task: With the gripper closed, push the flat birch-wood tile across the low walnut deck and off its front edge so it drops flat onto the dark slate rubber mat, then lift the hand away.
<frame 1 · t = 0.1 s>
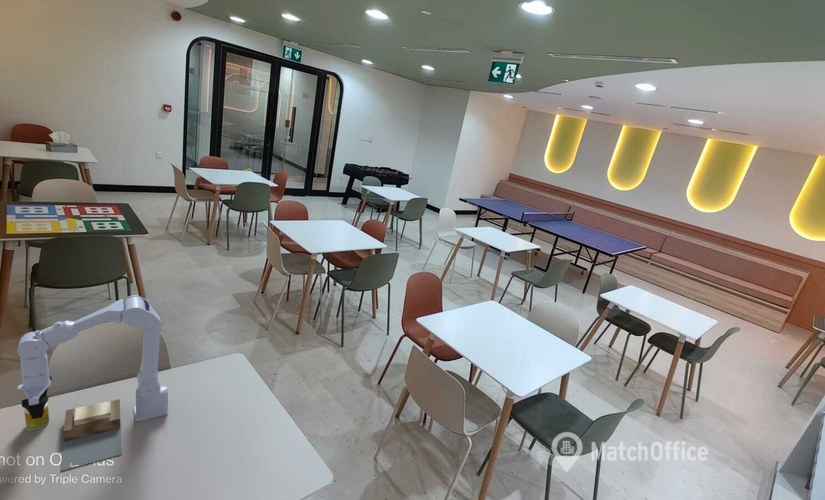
hand: (39, 409, 119), 10 cm above the table, tool pointing down, fingers open, 7 cm apart
slate mat: (92, 448, 121), on the table
walnut deck: (93, 424, 129), on the table
supplement bottle: (38, 424, 125), on the table
birch tile: (93, 415, 128), point 4 cm above the table, touching walnut deck
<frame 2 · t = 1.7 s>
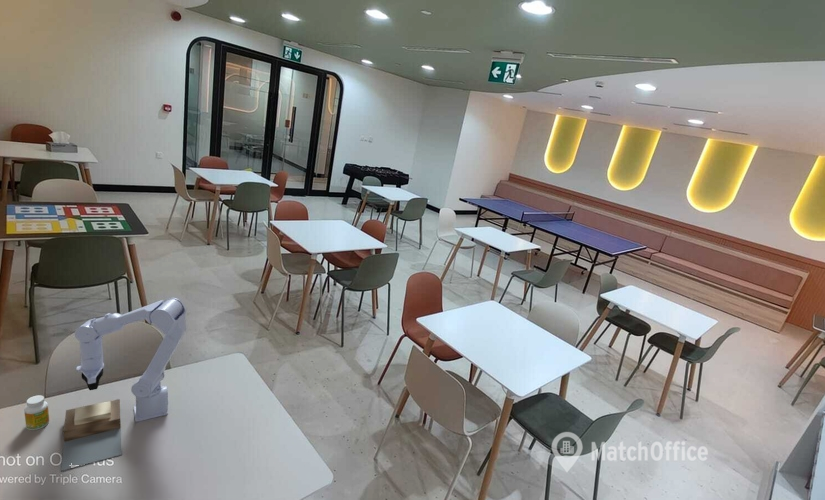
hand: (93, 388, 133), 8 cm above the table, tool pointing down, fingers closed
nothing on the table moved.
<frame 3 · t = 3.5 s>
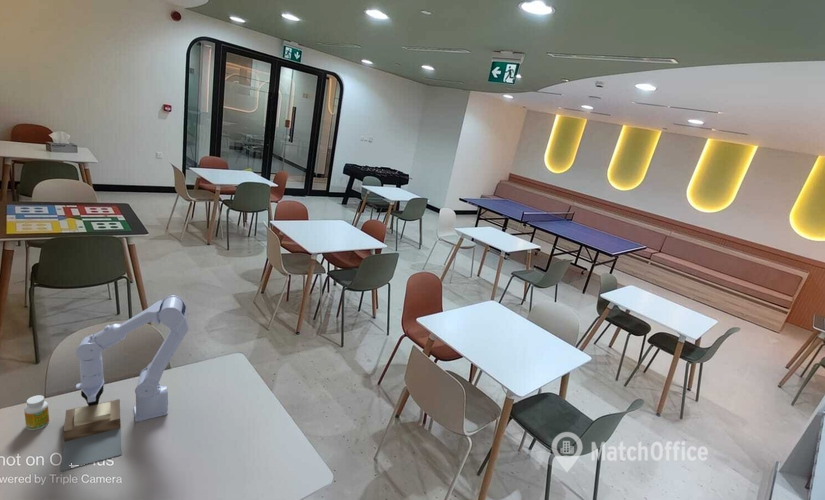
hand: (93, 406, 130), 5 cm above the table, tool pointing down, fingers closed
birch tile: (93, 416, 127), point 4 cm above the table, touching gripper
everything else where it was.
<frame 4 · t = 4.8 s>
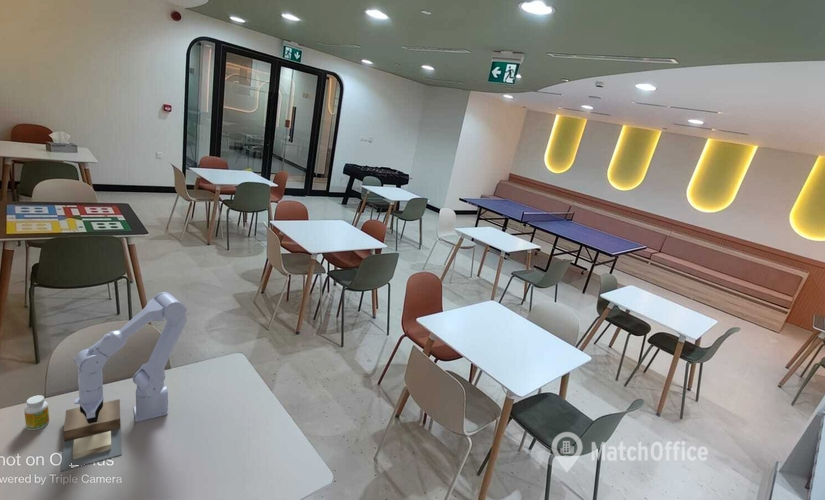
hand: (92, 421, 124), 5 cm above the table, tool pointing down, fingers closed
birch tile: (92, 442, 121), point 2 cm above the table, tilted 180°, touching slate mat
everything else where it was.
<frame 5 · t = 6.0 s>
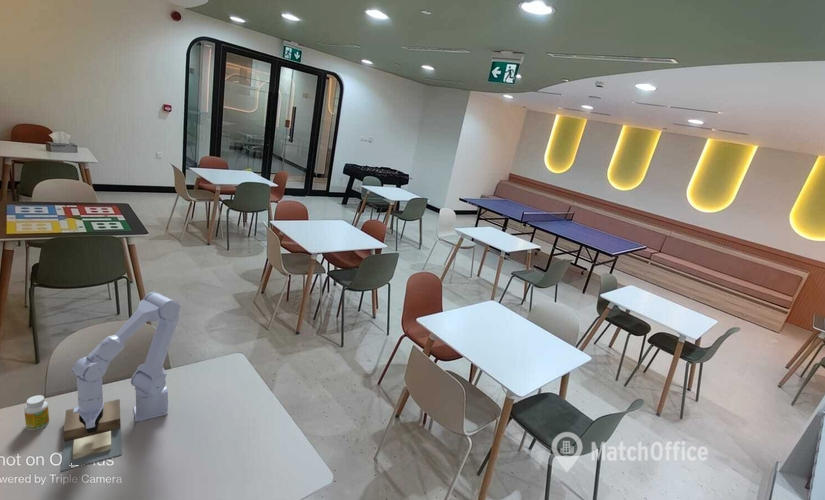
hand: (92, 430, 121), 5 cm above the table, tool pointing down, fingers closed
nothing on the table moved.
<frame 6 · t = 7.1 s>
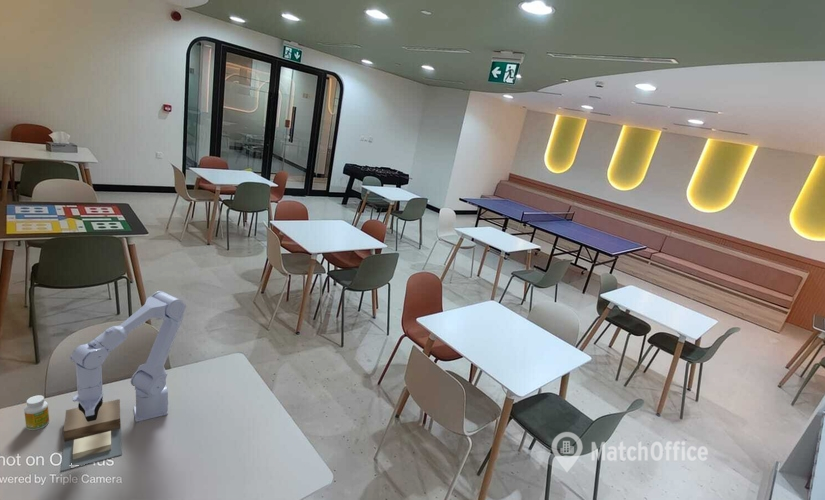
hand: (91, 419, 120), 9 cm above the table, tool pointing down, fingers closed
nothing on the table moved.
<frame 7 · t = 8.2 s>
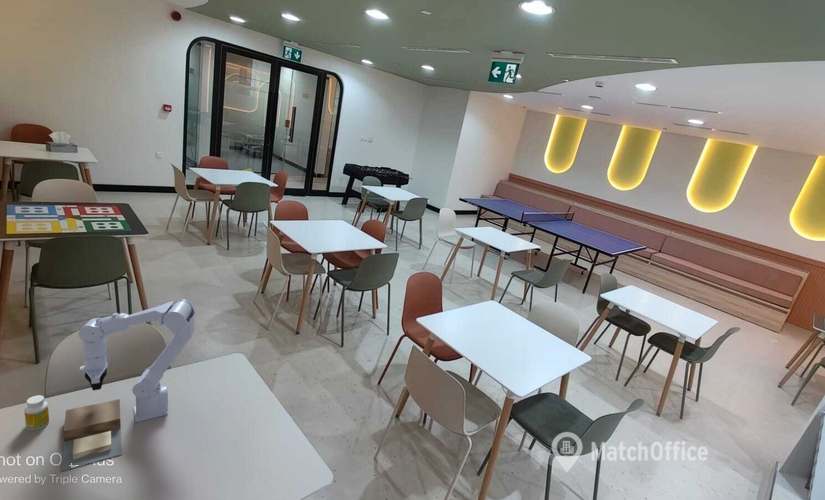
hand: (96, 388, 132), 9 cm above the table, tool pointing down, fingers closed
nothing on the table moved.
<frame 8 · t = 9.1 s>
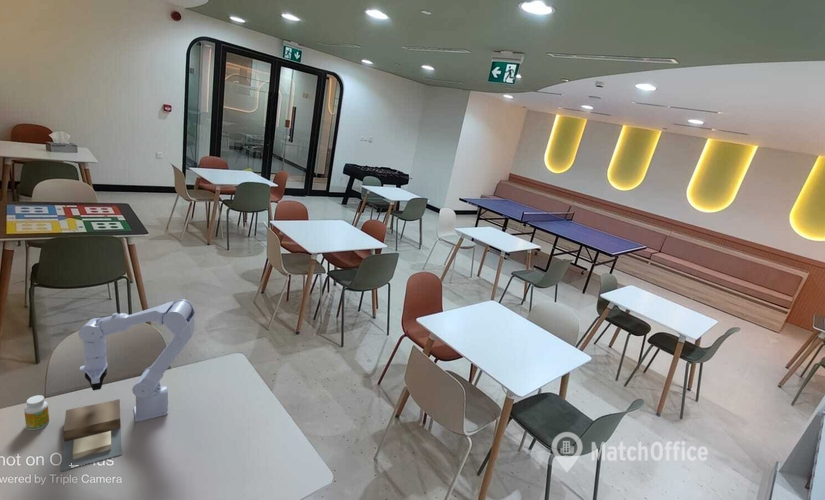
hand: (96, 388, 132), 9 cm above the table, tool pointing down, fingers closed
nothing on the table moved.
at the end: birch tile point 2.3 cm above the table; birch tile inside the target area (0.6 cm from its centre), point 2.3 cm above the table; birch tile moved 10.5 cm from its start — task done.
